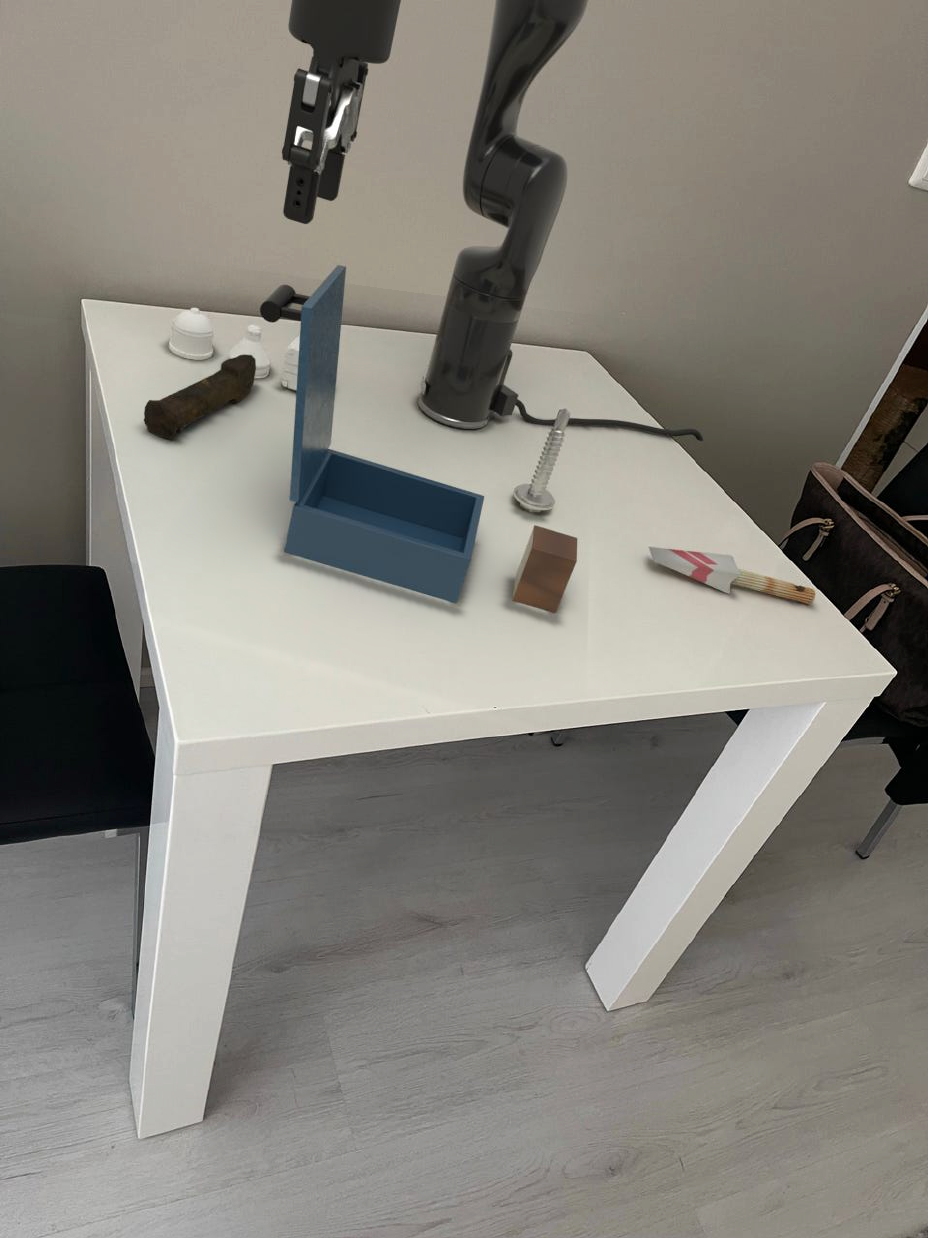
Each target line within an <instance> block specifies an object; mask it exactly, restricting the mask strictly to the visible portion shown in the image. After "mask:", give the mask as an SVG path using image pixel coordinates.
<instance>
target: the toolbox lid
mask: <svg viewBox="0 0 928 1238" xmlns="http://www.w3.org/2000/svg"><path fill="white" fill-rule="evenodd" d="M346 274H347V266H345V265H340V264H337V265H336V266H335V267H334V269H333V270H332V271H331V272H330V273H329V274H328V275H327V277H326V278H325V279H324V280H323V281H322V282H321V284H320V285H319V286H318V287H317V288H316V289H315V291H314V292H313V293H312V294H311V295H305V294H300V293H296V291H295V289H294V288H293V287H292V286H291V285H289V284H281V285H279V286H278V287H277V288H276V289H275V290H274V291H273V292H272V293H271V294H270V295H269V296H268V297H267V298H266V299H264V301H263V302H262V303H261V304H260V307H259V313H260V316H261V317H262V319H263V320H265V322H268V323H276V322H278V321H279V320H280V319H282V318H283V319H287V320H292V321H297V322H300V327H299V328H300V329H299V335H300V342H299V358H298V374H297V390H295V391H296V392H295V407H294V423H293V424H294V425H293V442H292V457H291V471H290V472H291V473H290V489H289V501H291V502H293V503H295V502H299V500H300V498H301V496H302V495H303V493H304V491H305V489H306V487H307V486H308V484H309V482H310V480H311V479H312V477H313V475H314V473H315V471H316V470H317V468H318V466H319V464H320V462H321V461H322V459H323V457H324V455H325V453H326V452H327V450H328V449H330V447H331V444H332V437H333V436H332V434H333V425H334V411H335V402H336V401H335V400H336V389H337V376H338V366H339V356H340V355H339V354H340V343H341V330H342V320H343V319H342V318H343V308H344V298H345V297H344V296H345V287H346V286H345V285H346ZM293 304H296V305H300V306H301V310H300V309H295V308H291V307H292V306H293Z"/></svg>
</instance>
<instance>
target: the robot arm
mask: <svg viewBox="0 0 928 1238" xmlns="http://www.w3.org/2000/svg"><path fill="white" fill-rule="evenodd" d="M401 2H402V0H291V3H290V4H291V5H290V10H289V19H288V24H287V25H288V31H289V33H290V35H291V36H292V37H293V38H294V39H295V40H297V41H299V42H300V43H302V44H307V45H309V46H310V47H311V49H312V50H313V51H312V56H311V59H310V63H309V68H308V70H305V69H302V68H297V69H296V72H295V73H294V76H293V87H292V92H291V93H292V95H291V99H290V105H289V111H288V117H287V124H286V131H285V135H284V142H283V147H282V148H281V159H282V160H283V161H285V162H287V165H289V173H288V177H287V178H288V179H287V185H286V190H285V196H284V203H283V208H282V209H283V211H282V212H283V216H284V217H285V218H286V219H287V220H290V221H294V222H297V223H300V224H303V225H308V224H311V222H312V221H313V220H314V218H315V217H314V216H315V211H316V204H317V199H318V198H320V199H322V200H325V201H329V202H333V201H334V200H336V199H337V198H338V196H339V191H340V185H341V181H342V180H341V179H342V174H343V171H344V170H343V169H344V165H345V159H346V154H348V153H349V151H350V150H351V147H352V143H353V142H354V141H355V139H356V138H357V137H358V136H357V135H358V131H357V130H358V125H359V118H360V113H361V108H362V103H363V96H364V91H365V86H366V80H367V76H368V74H369V64H374V65H380V64H384V63H386V62H387V61H388V60H389V59H390V56H391V52H392V46H393V41H394V36H395V31H396V27H397V21H398V17H399V12H400V7H401ZM588 2H589V0H494V10H493V17H492V23H491V31H490V36H489V44H488V50H487V57H486V61H485V62H486V63H485V69H484V73H483V74H484V75H483V80H482V84H481V89H480V94H479V97H478V102H477V106H476V111H475V117H474V119H473V124H472V129H471V130H472V131H471V134H470V138H469V141H468V142H469V143H468V147H467V151H466V156H465V160H464V161H465V162H464V167H463V173H462V174H463V175H462V196H463V201H464V203H465V205H466V207H467V208H468V209H469V210H470V211H472V212H473V213H474V214H477V215H479V216H480V217H483V218H484V219H487V220H489V221H491V222H493V223H495V224H498V225H500V226H502V227H505V228H507V231H506V235H505V236H504V239H503V241H502V243H501V245H497V246H483V245H473V246H468V247H464V248H462V249H461V250H460V251H459V252H458V254H457V257H456V260H455V263H454V267H453V271H452V275H451V279H450V283H449V286H448V291H447V295H446V298H445V302H444V306H443V310H442V314H441V318H440V321H439V325H438V328H437V333H436V336H435V341H434V344H433V348H432V352H431V355H430V359H429V362H428V367H427V371H426V373H425V377H424V376H422V379H421V382H420V388H421V392H420V394H419V398H418V402H417V404H418V407H419V408H420V410H421V411H422V412H423V414H425V415H426V416H427V417H430V418H431V419H433V420H435V421H436V422H439V423H442V424H444V425H446V426H448V427H449V426H450V427H453V428H457V429H465V430H476V429H481V428H483V427H485V426H487V424H488V422H489V421H490V420H493V418H494V415H495V413H496V414H497V415H498V416H500V417H502V418H503V417H508V416H512V415H513V413H514V410H515V407H517V408H518V411H519V415H520V417H521V418H522V419H523V420H525V421H527V422H528V423H530V424H534V425H540V426H549V427H550V426H551V427H553V426H554V423H555V420H556V418H555V419H540V418H536V417H534V416H532V415H530V413H529V414H528V412H527V409H526V406H525V404H524V403H523V401H521V400H520V399H519V394H518V393H517V392H515V391H514V390H513V389H511V388H510V387H508V386H506V385H505V381H506V377H507V374H508V371H509V367H510V364H511V361H512V358H513V350H512V349H511V347H512V343H513V340H514V336H515V334H516V330H517V326H518V323H519V321H520V317H521V314H522V311H523V308H524V304H525V301H526V298H527V294H528V291H529V288H530V285H531V283H532V281H533V278H534V276H535V274H536V273H537V270H538V268H539V265H540V264H541V260H542V257H543V254H544V252H545V249H546V246H547V244H548V241H549V237H550V234H551V231H552V229H553V226H554V224H555V222H556V218H557V216H558V213H559V210H560V207H561V205H562V203H563V200H564V196H565V192H566V188H567V182H568V164H567V162H566V159H565V158H564V157H563V156H562V154H559V153H558V152H556V151H554V150H552V149H550V148H547V147H545V146H543V145H540V144H539V143H535V142H533V141H530V140H529V139H526V138H524V137H521V136H519V135H518V133H517V130H518V129H517V128H518V122H519V118H520V113H521V109H522V106H523V102H524V99H525V97H526V94H527V92H528V90H529V88H530V87H531V85H532V84H533V82H534V80H535V79H536V78H537V76H538V75H539V73H540V72H541V71H542V70H543V68H544V67H545V66H547V64H548V63H549V62H550V61H551V60H552V58H553V57H554V56H555V55H556V54H557V52H558V51H559V50H560V49H562V47H563V46H564V44H565V43H566V42H567V41H568V39H569V38H571V36H572V35H573V33H574V32H575V30H576V29H577V27H578V26H579V24H580V23H581V21H582V19H583V17H584V15H585V12H586V10H587V6H588ZM305 141H309V142H311V143H312V144H311V148H307V147H304V146H303V143H304V142H305ZM567 425H578V426H607V427H620V428H625V429H633V430H636V431H637V430H638V431H642V432H647V433H652V434H656V435H662V436H666V437H682V436H690V435H692V436H694V437H695V438H696V440H697V441H699V442H703V441H704V437H703V436H702V434H701V433H700V431H699V430H697V429H694V428H684V429H677V430H676V429H674V430H672V429H666V428H661V427H660V428H659V427H656V426H652V425H651V426H650V425H647V424H643V423H642V424H641V423H638V422H632V421H627V420H619V419H618V420H617V419H607V418H579V417H569V420H568V423H567Z"/></svg>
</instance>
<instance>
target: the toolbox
mask: <svg viewBox="0 0 928 1238" xmlns="http://www.w3.org/2000/svg"><path fill="white" fill-rule="evenodd" d="M484 501H485V495H482V494H480V493H476V492H472V491H470V490H466V489H463V488H459V487H456V486H453V485H449V484H447V483H443V482H440V481H436V480H433V479H430V478H426V477H423V476H420V475H417V474H413V473H410V472H407V471H403V470H400V469H397V468H394V467H390V466H387V465H384V464H382V463H381V464H380V463H377V462H374V461H371V460H367V459H364V458H360V457H358V456H354V455H351V454H347V453H344V452H341V451H339V450H334V449H331V448H328V450H327V452H326V453H325V455H324V457H323V459H322V461H321V462H320V464H319V466H318V468H317V470H316V471H315V473H314V475H313V477H312V479H311V480H310V482H309V484H308V486H307V487H306V489H305V491H304V493H303V495H302V496H301V498H300V500H299V502H294V504H293V506H292V510H291V515H290V521H289V525H288V531H287V535H286V540H285V547H284V553H285V554H288V555H292V556H295V557H298V558H303V559H306V560H309V561H312V562H316V563H319V564H322V565H326V566H329V567H332V568H335V569H338V570H342V571H346V572H349V573H353V574H355V575H359V576H362V577H366V578H369V579H373V580H376V581H379V582H382V583H386V584H389V585H392V586H396V587H399V588H403V589H406V590H409V591H412V592H416V593H420V594H423V595H426V596H430V597H433V598H436V599H440V600H443V601H447V602H449V603H453V604H457V602H458V600H459V597H460V594H461V590H462V588H463V585H464V582H465V578H466V576H467V572H468V570H469V566H470V563H471V561H472V556H473V551H474V548H475V547H474V546H475V542H476V539H477V534H478V529H479V524H480V519H481V516H482V515H481V514H482V511H483V505H484Z"/></svg>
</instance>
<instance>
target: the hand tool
mask: <svg viewBox="0 0 928 1238" xmlns="http://www.w3.org/2000/svg"><path fill="white" fill-rule="evenodd" d="M255 371H256V360H255V358H254V357H253V356H252V355H239V356H238V357H235V358H232V359H229V358H227V359H226V360H224V361H223V362H222V363H221V365H220V369H219V370H218V371H215V373H213V374H211V375H208V376H206V377H205V378H202V379H201V380H199V381H196V382H194V383H192V384H190V385H188V386H186V387H184V388H182V389H180V390H177V391H176V392H174V393H172V394H169V395H168V396H165V397H162V398H161V399H154V400H152V399H149V400H148V401H147V402H146V404H145V406H144V412H143V416H144V418H143V422H144V424H145V426H146V429H147V431H148V432H150V433H152V434H154V435H156V436H158V437H161V438H164V439H173V438H175V436H176V434H181V433H182V431H183V429H184V428H185V427H186V426H187V425H189V424H192V423H193V422H195V421H196V420H198V419H200V418H201V417H204V416H207V415H209V414H210V413H211V412H213V411H215V410H217V409H218V408H219V407H221V406H223V405H225V404H227V403H232V404H237V403H239V402H241V401H242V400H243V399H244V398H245V397H246V396H247V394H248V393H249V392H250V391H251V390H252V387H253V386H254V383H255V378H254V377H255Z"/></svg>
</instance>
